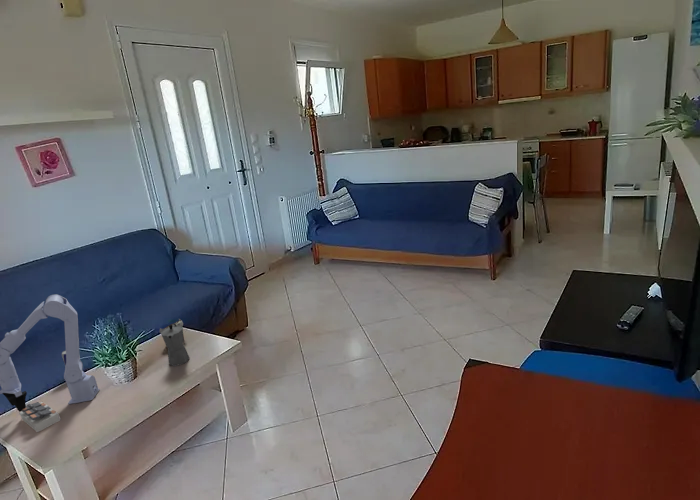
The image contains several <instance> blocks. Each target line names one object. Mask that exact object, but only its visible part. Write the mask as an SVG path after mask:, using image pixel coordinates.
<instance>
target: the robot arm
mask: <svg viewBox="0 0 700 500" xmlns="http://www.w3.org/2000/svg"><path fill="white" fill-rule="evenodd" d="M78 315H79V314H78V311H77V310H76V309H75V308H74V307H73V306H72V305H71V303H70V302H69V301H68V299H67V298H65V297H63V296H62V295H59V294H51V295H49V296H48V297H47V298H45V301H42V302H40V304H39V305H38V306H37V307H36V308H35V309H34V310H33V311H32V312H31V313H30V314H29V315H28V317H26V319H25V321H23V323H22V324H21V325H20V326H19V327H18V328H17V329H13V330H11V331H10V332H8V331H7V332H6V333H5V334H4V337H3V339H2V340H1V341H0V387H1V389H0V395H4V397H5V398H6V399H7V400H8V401H7V402H8V403H9V404H10V405H11V406H12V407H13V406H15V408H16V410H17V411H18V412H19V413H20V412H22V409H24V408H26V406H27V405H26V397H27V394H28V392H27V391H26V390H24V391H22V383H21V382H20V379H19V376H18V373H17V370H16V368H15V365H14V362H13V361H12V357H11V354H13V353H15V351H16V350H17V349H18V348H20V346H21V345H22V344H23V343H24V341H25V340H26V339H27V337H26V334H27V333H28V332H29V331H30V330H31V329H32V328H33V327H34V326H35V325H36V324H37V323H38V322H39V321H40V320H44V319H48V317H50V318H51V317H52V318H56V319H59V320H61V321H62V322H64V339H65V340H64V341H65V342H64V343H65V350H66V365H65V364H64V373H63V379H64V380H65V382H66V386H67V389H68V392H69V395H70V400H69V401H68V403H67V405H73V404H79V403H84V402H90V401H93V400H94V398H95V397H96V395H97V394H98V392H99V391H100V388H99V387H98V384H97V380H96V378H95V376H94V375H89V374H86V372H85V371H83V368H84V365H83V362H82V361H81V356H80V341H79V339H80V338H79V319H78Z"/></svg>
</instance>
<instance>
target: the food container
mask: <svg viewBox="0 0 700 500" xmlns="http://www.w3.org/2000/svg"><path fill="white" fill-rule="evenodd" d="M172 324H176V326H177V327H181V328H182V329H183V326H184V322H183V320H181V319H180V318H178V320H177V321H175V322H174V323H171V324H169V325H172ZM169 325H167V326H166V327H164V328H159V334H161V333H162V332H163V331H164V330H166V329H168V328H169ZM183 330H184V329H183ZM183 339H184V340H185V335H184V334H183Z"/></svg>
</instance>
